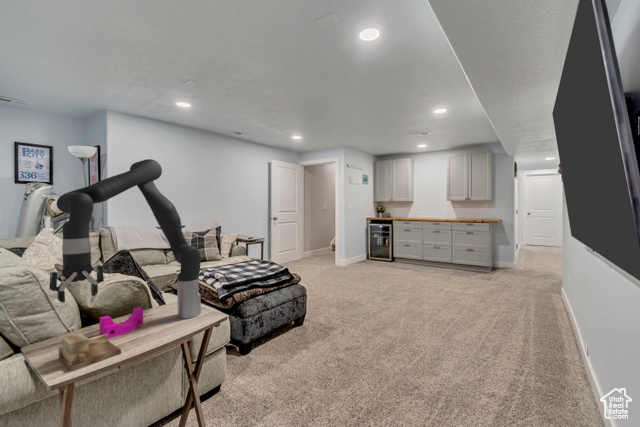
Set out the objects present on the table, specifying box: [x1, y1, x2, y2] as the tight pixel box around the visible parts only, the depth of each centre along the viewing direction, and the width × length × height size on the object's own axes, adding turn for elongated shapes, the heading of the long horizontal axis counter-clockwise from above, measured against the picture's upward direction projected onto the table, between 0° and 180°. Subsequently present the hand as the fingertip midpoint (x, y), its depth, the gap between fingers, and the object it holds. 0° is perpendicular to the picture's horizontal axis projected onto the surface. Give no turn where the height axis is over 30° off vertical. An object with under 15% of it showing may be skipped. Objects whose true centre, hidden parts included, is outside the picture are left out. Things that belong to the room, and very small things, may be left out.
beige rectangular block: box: [61, 332, 89, 363], centre depth 99 cm, size 5×11×6 cm, turn 54°
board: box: [58, 333, 122, 372], centre depth 103 cm, size 14×13×4 cm
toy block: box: [99, 306, 144, 340], centre depth 124 cm, size 15×6×8 cm, turn 148°
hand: (78, 298), depth 101 cm, fingers open, 8 cm apart
